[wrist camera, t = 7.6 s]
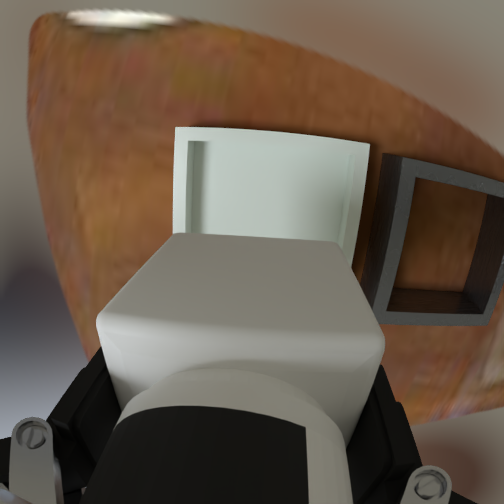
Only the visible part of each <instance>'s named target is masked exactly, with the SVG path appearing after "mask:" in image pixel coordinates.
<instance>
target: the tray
mask: <svg viewBox="0 0 504 504" xmlns="http://www.w3.org/2000/svg"><path fill="white" fill-rule="evenodd" d="M369 149H370V144H367V143H361V142H355V141H348V140H342V139H335V138H328V137H320V136H312V135H304V134H295V133H285V132H274V131H262V130H248V129H231V128H206V127H176V128H175V148H174V177H173V234H174V233H179V232H182V233H201V234H219V235H237V236H254V237H271V238H287V239H303V240H318V241H332V242H335V243H337V244H338V245H339V246H340V248H341V250H342V252H343V254H344V255H345V257H346V259H347V261H348V263H349V265H350V267H351V265H352V260H353V255H354V250H355V244H356V239H357V233H358V227H359V221H360V215H361V209H362V203H363V196H364V189H365V182H366V174H367V166H368V158H369Z"/></svg>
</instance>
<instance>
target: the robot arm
mask: <svg viewBox="0 0 504 504" xmlns="http://www.w3.org/2000/svg"><path fill="white" fill-rule="evenodd" d="M121 414H122V411H121V408H120V406H119V403H118V400H117V397H116V394H115V390H114V387H113V384H112V380H111V377H110V374H109V371H108V368H107V365H106V361H105V357H104V354H103V350H102V346H101V347H100V348H99V350H98V351H97V352H96V354H95V355H94V356H93V358H92V359H91V361H90V362H89V363H88V365H87V366H86V367H85V368H83V369H82V370H81V371H80V372H79V374H78V375H77V377H76V378H75V379H74V381H73V382H72V383H71V385H70V386H69V388H68V389H67V391H66V392H65V394H64V395H63V396H62V398H61V399H60V401H59V402H58V404H57V405H56V406H55V408H54V409H53V411H52V412H51V414H50V415H49V417H48V418H47V420H46V421H45V420H43V419H41V418H36V417H30V418H25V419H23V420H21V421H20V422H19V423H17V424H16V426H15V427H14V429H13V432H12V437H8V438H4V439H0V504H79V502H80V500H81V498H82V496H83V493H84V491H85V489H86V487H87V485H88V482H89V480H90V478H91V476H92V474H93V472H94V470H95V467H96V465H97V463H98V461H99V459H100V457H101V455H102V453H103V451H104V448H105V446H106V444H107V442H108V440H109V438H110V436H111V434H112V432H113V430H114V428H115V426H116V424H117V422H118V420H119V418H120V416H121ZM346 455H347V462H348V469H349V476H350V483H351V491H352V499H353V504H477V503H475V502H473V501H471V500H469V499H467V498H465V497H463V496H461V495H459V494H457V493H455V492H453V491H451V486H452V483H451V480H450V477H449V476H448V474H447V473H446V472H445V471H444V470H442V469H441V468H438V467H436V466H430V465H428V466H423V465H422V462H421V459H420V456H419V453H418V450H417V447H416V443H415V440H414V437H413V434H412V431H411V429H410V426H409V423H408V420H407V417H406V414H405V411H404V408H403V406H402V404H401V403H400V402H396V401H395V398H394V395H393V393H392V390H391V387H390V384H389V381H388V379H387V376H386V373H385V371H384V368H383V366H382V365H379V368H378V371H377V374H376V377H375V379H374V382H373V385H372V388H371V390H370V393H369V396H368V398H367V401H366V403H365V406H364V408H363V411H362V413H361V416H360V418H359V421H358V423H357V426H356V428H355V430H354V432H353V435H352V437H351V439H350V442H349V444H348V446H347V448H346Z"/></svg>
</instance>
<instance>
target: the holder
mask: <svg viewBox="0 0 504 504" xmlns="http://www.w3.org/2000/svg"><path fill="white" fill-rule="evenodd" d="M415 177H418V178H423V179H428V180H432V181H437V182H442V183H446V184H451V185H455V186H459V187H463V188H468V189H472V190H476V191H480V192H483V193H487V194H488V195H487V201H486V206H485V211H484V216H483V220H482V225H481V229H480V233H479V238H478V242H477V245H476V249H475V253H474V257H473V260H472V264H471V267H470V270H469V274H468V277H467V280H466V283H465V286H464V289H463V292H448V291H432V290H418V289H403V288H393V284H394V280H395V276H396V272H397V268H398V264H399V260H400V256H401V252H402V247H403V243H404V238H405V233H406V229H407V224H408V218H409V213H410V208H411V202H412V196H413V190H414V184H415ZM503 283H504V183H503V182H500V181H497V180H494V179H490V178H487V177H483V176H480V175H476V174H473V173H469V172H465V171H462V170H458V169H454V168H450V167H446V166H442V165H438V164H433V163H429V162H425V161H420V160H415V159H411V158H406V157H401V156H396V155H391V154H385V153H383V155H382V163H381V171H380V178H379V186H378V192H377V199H376V205H375V211H374V217H373V223H372V229H371V234H370V239H369V245H368V250H367V255H366V259H365V264H364V269H363V273H362V278H361V282H360V287H361V289H362V291H363V293H364V295H365V297H366V299H367V301H368V303H369V305H370V307H371V309H372V311H373V313H374V316H375V318H376V320H377V322H378V324H395V325H436V326H482V325H488V322H489V320H490V318H491V315H492V313H493V310H494V307H495V305H496V302H497V300H498V297H499V294H500V291H501V288H502V286H503Z"/></svg>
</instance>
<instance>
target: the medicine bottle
mask: <svg viewBox="0 0 504 504" xmlns="http://www.w3.org/2000/svg"><path fill="white" fill-rule="evenodd" d="M96 327H97V331H98V335H99V339H100V343H101V346H102V350H103V354H104V357H105V361H106V365H107V368H108V371H109V374H110V377H111V380H112V384H113V387H114V390H115V394H116V397H117V400H118V403H119V406H120V408H121V411H122V414H121V416H120V418H119V420H118V422H117V424H116V426H115V428H114V430H113V432H112V434H111V436H110V438H109V440H108V442H107V444H106V446H105V448H104V451H103V453H102V455H101V457H100V459H99V461H98V463H97V465H96V467H95V470H94V472H93V474H92V476H91V478H90V480H89V482H88V485H87V487H86V489H85V491H84V493H83V496H82V498H81V500H80V502H79V504H353V499H352V491H351V483H350V476H349V469H348V462H347V455H346V448H347V446H348V444H349V442H350V439H351V437H352V435H353V432H354V430H355V428H356V426H357V423H358V421H359V418H360V416H361V413H362V411H363V408H364V406H365V403H366V401H367V398H368V396H369V393H370V390H371V388H372V385H373V382H374V379H375V377H376V374H377V371H378V368H379V365H380V362H381V359H382V356H383V353H384V350H385V337H384V335H383V333H382V331H381V328H380V326H379V324H378V322H377V320H376V318H375V316H374V313H373V311H372V309H371V307H370V305H369V303H368V301H367V299H366V297H365V295H364V293H363V291H362V289H361V287H360V285H359V283H358V281H357V279H356V277H355V275H354V273H353V271H352V269H351V267H350V265H349V263H348V261H347V259H346V257H345V255H344V254H343V252H342V250H341V248H340V246H339V245H338V244H337V243H335V242H332V241H318V240H303V239H287V238H271V237H254V236H237V235H219V234H201V233H182V232H179V233H174V234H173V235H172V236H171V237H170V238H169V239H168V240H167V241H166V242H165V243H164V244H163V245H162V246H161V247H160V248H159V249H158V251H157V252H156V253H155V254H154V255H153V256H152V257H151V258H150V259H149V260H148V261H147V262H146V263H145V264H144V265H143V266H142V267H141V268H140V269H139V270H138V271H137V273H136V274H135V275H134V276H133V277H132V278H131V279H130V280H129V281H128V282H127V283H126V284H125V285H124V287H123V288H122V289H121V290H120V291H119V292H118V293H117V294H116V295H115V296H114V298H113V299H112V300H111V301H110V302H109V303H108V304H107V305H106V306H105V308H104V309H103V310H102V311H101V312H100V313H99V314H98V316H97V319H96Z"/></svg>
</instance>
